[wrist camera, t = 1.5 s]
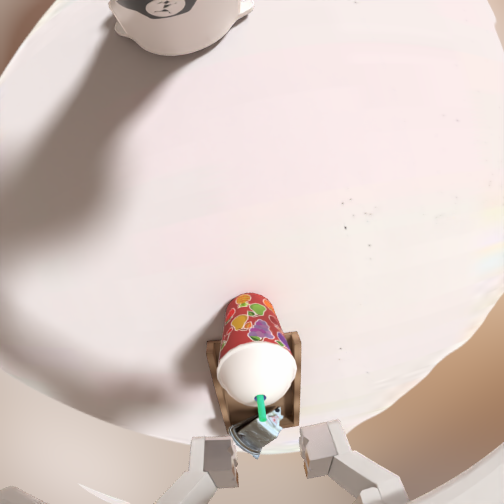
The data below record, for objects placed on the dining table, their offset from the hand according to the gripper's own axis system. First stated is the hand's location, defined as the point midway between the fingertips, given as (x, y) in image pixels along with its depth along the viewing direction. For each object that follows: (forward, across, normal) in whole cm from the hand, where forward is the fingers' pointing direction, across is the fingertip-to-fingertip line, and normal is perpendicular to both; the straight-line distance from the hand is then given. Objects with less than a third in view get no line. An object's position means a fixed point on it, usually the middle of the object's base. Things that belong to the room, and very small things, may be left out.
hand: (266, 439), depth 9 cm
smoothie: (+29, 0, +11) cm, 31 cm away
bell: (+30, 0, +32) cm, 43 cm away
